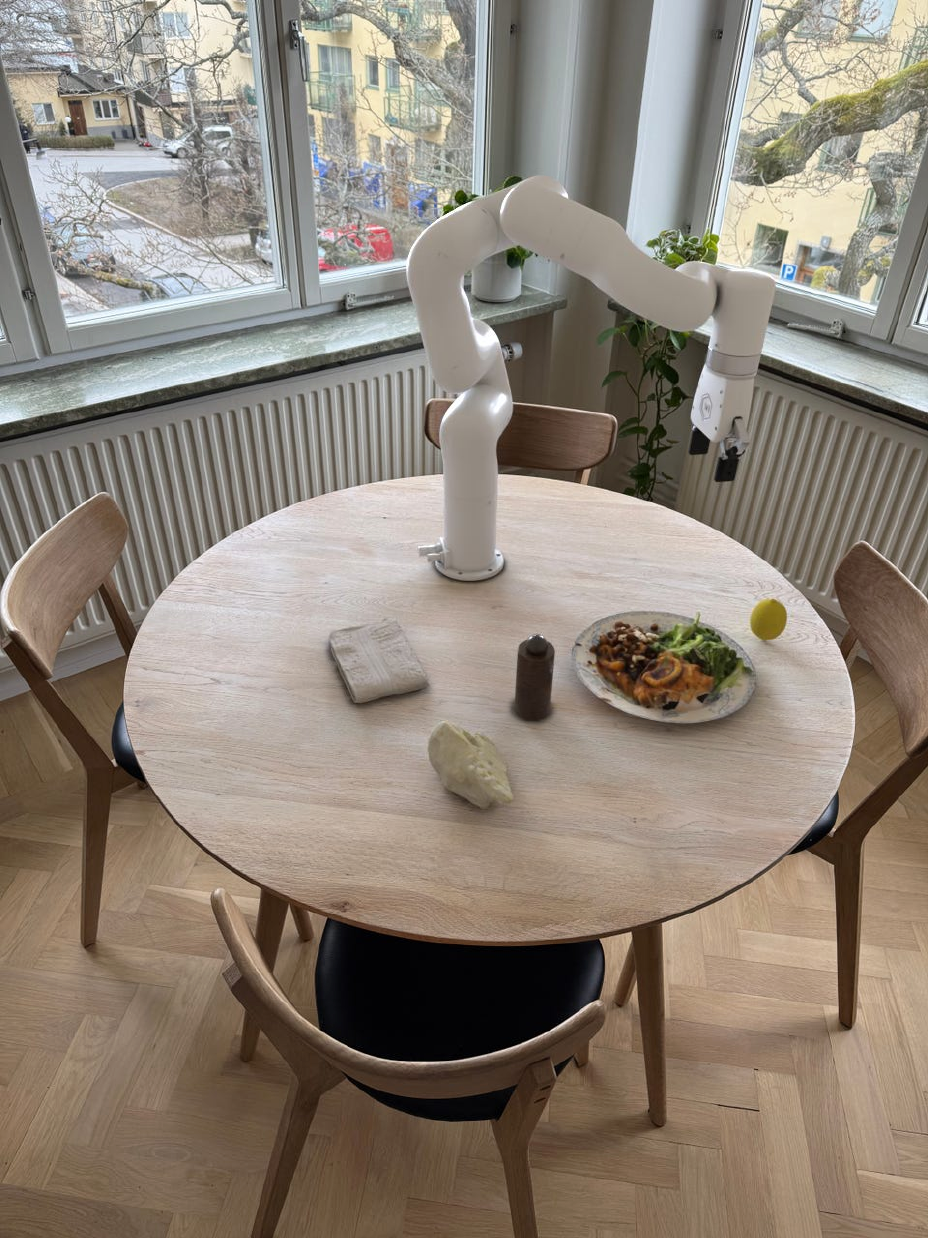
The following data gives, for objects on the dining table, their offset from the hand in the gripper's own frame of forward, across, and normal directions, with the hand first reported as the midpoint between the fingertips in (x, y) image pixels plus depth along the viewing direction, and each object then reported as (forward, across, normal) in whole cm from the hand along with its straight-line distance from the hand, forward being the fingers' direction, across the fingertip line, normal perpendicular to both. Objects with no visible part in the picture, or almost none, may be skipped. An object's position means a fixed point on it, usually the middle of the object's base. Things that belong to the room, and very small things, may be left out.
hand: (710, 466), depth 142 cm
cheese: (+26, +38, -44) cm, 64 cm away
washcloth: (+27, +8, -55) cm, 61 cm away
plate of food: (+26, +19, -11) cm, 34 cm away
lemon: (+25, +13, +8) cm, 30 cm away
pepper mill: (+26, +23, -33) cm, 48 cm away
